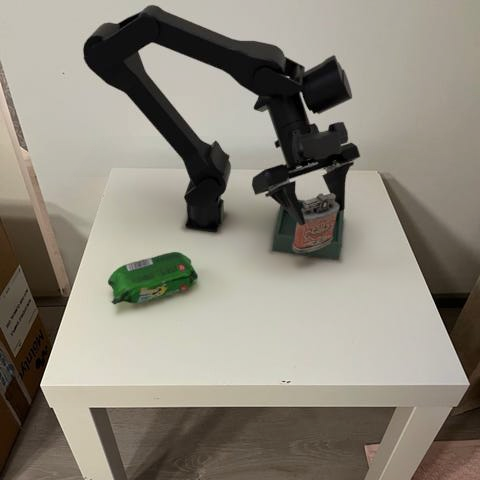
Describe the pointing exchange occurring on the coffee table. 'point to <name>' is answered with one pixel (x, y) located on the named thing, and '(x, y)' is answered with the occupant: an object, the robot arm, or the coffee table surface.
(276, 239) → the shallow open tray
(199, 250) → the coffee table surface
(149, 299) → the snack package
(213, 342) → the coffee table surface
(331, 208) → the lighter
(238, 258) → the coffee table surface
